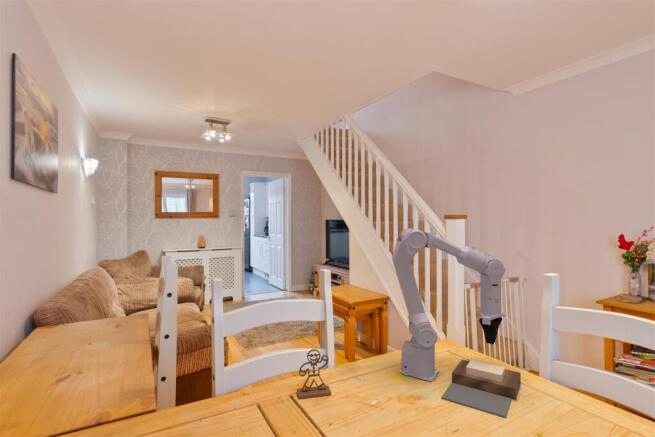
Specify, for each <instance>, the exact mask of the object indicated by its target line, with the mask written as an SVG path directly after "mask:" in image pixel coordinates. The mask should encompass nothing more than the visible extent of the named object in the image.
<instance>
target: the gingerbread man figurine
mask: <svg viewBox="0 0 655 437" xmlns="http://www.w3.org/2000/svg"><path fill="white" fill-rule="evenodd" d="M312 352H317V353H314V354H313V353H312ZM306 357H307V358H306V359H307V360H308V362H304V363H303V364H302V365H301V366H300V368H299V369H298V373H299V376H300V377H305V376H306V375H307V374H308V375H307V378H306V380H305V382H304V383H303V386H302V387H301V388H297V389H296V396H297V398H298V400H307V399H316V398H323V397H330V396H331V397H332V390H331V388H330V387H329V386H330V385H326V383H325V382H324V381H323V379H322V378H321V375H320V370H321V369H323V368H325V367H327V365H328V363H329V356H328V355H327V354H323V355H322V356H321V352H320V351H319V350H318V349H316V348H313V349H311V350H309V351H308V352H307V354H306ZM313 357H315V358H313ZM325 357H326V358H325ZM322 362H325V363H324V364H323V365H322V366H319V367H318V364H320V363H322ZM306 365H310V367H311V368H312V374H310V368H308V367H307V368H306V369H304V370H303V369H302V368H304V367H305V366H306ZM316 367H317V368H318V369H317V370H318V371H317V373H316V371H315V369H316ZM301 373H303V374H301ZM313 377H314V378H315V377H318V378H319V380H320V381H321V383H320V384H318V383H317V381H316V380H315V379H314V378H313ZM310 378H313V379H312V381H311V383H310V385H309V386H308V385H306V384H307V383H308V381H309V379H310ZM314 384H315V385H316V386H313V385H314Z"/></svg>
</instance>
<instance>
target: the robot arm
mask: <svg viewBox="0 0 655 437" xmlns="http://www.w3.org/2000/svg"><path fill="white" fill-rule="evenodd" d="M424 248H426V249H430V248H434V249H437V250H439V251H441V252H443V253H446V254H449V255H451V256H453V257H455V259H456V261H457V263H458V264H460V265H462V266H463V267H467V268H469V269H470V270H473V271H475V272H477V273H479V275H480V277H479V278H480V282H479V283H480V285H479V286H480V287H479V288H480V290H479V291H480V298H479V299H480V301H479V303H480V307H479V308H480V310H479V315H480V316H481V317H480V318H479V319H478V322H479V324H480V326H481V329H482V331H483V334H484V340H485V343H486V344H490V345H495V343H496V341H497V338H498V331H499V328H500V325H501V324H502V321H503V317H504V318H505V317H506V316H507V313H505V312H502V279H503V278H502V277H503V276H504V275H505V273H506V268H505V266H504V264H503V262H502V261H501V260H499V259H498V258H493V257H490V254H489V253H483V252H480V251H478V250H476V247H475V246H472V245H469V246H467V245H464V246H462V247H460V246H458V245H456V244H454V243H452V242H450V241H448V240H447V239H444V238H442V237H440V236H438V235H436V234H433V233H431V232H428V231H423V230H421V229H418V228H410V227H409V228H404V229H403V230H401V232H400V233H399V234H398V236H397V237H396V242H395V247H394V250H393V254H392V259H391V260H392V264H393V267H394V271H395V272H396V273H395V274H396V277H397V280H398V283H399V287H400V290H401V293H402V297H403V300H404V303H405V307H406V310H407V313H408V316H407V318H408V321H409V322H408V332H409V333H410V336H411V338H410V340H405V341H404V342H403V344H402V346H401V347H402V348H401V370H400V374H403V375H404V376H405V375H406V376H409V377H413V378H417V379H419V380H424V381H426V382H433V380H434V379H435V378H436V376H438V374H439V373H440V369H438V368H437V369H436V364H435V362H436V360H435V359H436V356H435V355H436V343H437V341H438V335H437V331H436V330H435V329H434V328H433V326H432V325H431V322H430V319H429V318H428V316H427V314H426V312H425V309H424V304H423V302H422V298H421V294H420V291H419V287H418V285H417V281H416V278H415V275H414V271H413V267H412V265H411V262H412V260H413V259H414V257H415V256H416V255H417V254H418V253H419V252H420V251H422V250H423V249H424Z"/></svg>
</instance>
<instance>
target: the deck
mask: <svg viewBox="0 0 655 437" xmlns="http://www.w3.org/2000/svg"><path fill="white" fill-rule="evenodd" d="M469 362H470V360H468V359H467V360H466V359H461V360H460V361H459V362H458V364H457V365H456V367H455V368H454V369H453V371H452V373H451V383H455V384H459V385H463V386H467V387H470V388H474V389H478V390H481V391H485V392H489V393H492V394H496V395H500V396H504V397H507V398H511V401H517V398H518V394H519V390H520V387H521V380H522V379H521V378H522V377H521V375H522V374H521V372H520V371H514V370H510V369H506V368H505V375H504V378H503V381H502V383H501V382H497V381H493V380H489V379H485V378H481V377H477V376H473V375H469V374H466V366H467V365H468V363H469Z"/></svg>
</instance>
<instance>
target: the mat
mask: <svg viewBox="0 0 655 437" xmlns="http://www.w3.org/2000/svg"><path fill="white" fill-rule="evenodd" d="M441 400H445V401H448V402H452V403H454V404H457V405H460V406H465V407H469V408H471V409H475V410H478V411H481V412H484V413H487V414H491V415H494V416H498V417H501V418H504V419H506V418H507V416H508V412H509V410H510V406H511V402H512V399H511V398H507V397H504V396H500V395H496V394H492V393H489V392H485V391H481V390H478V389H474V388H470V387H467V386H463V385H459V384H455V383H452V382H451V383H450V384H449V386H448V387H447V388H446V390H445V392H444V393H443V395H442V396H441Z"/></svg>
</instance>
